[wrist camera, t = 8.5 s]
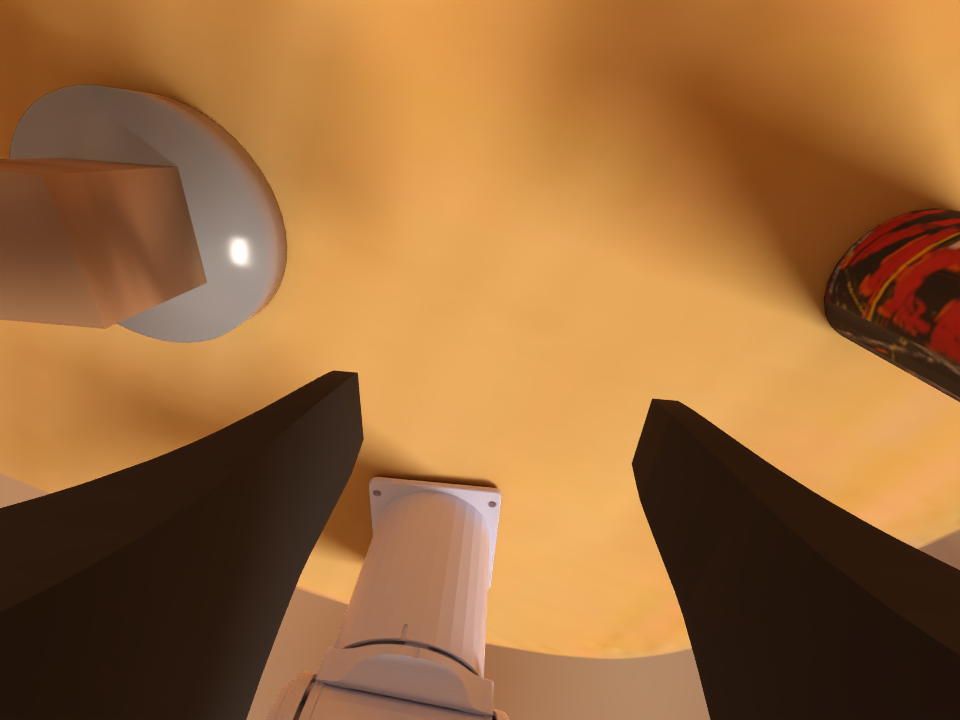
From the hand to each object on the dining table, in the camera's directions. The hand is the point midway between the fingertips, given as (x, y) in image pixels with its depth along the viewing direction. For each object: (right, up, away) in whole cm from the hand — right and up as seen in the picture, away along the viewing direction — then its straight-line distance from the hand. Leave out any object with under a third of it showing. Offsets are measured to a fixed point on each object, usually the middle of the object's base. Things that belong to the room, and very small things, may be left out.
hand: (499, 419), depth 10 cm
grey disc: (-14, +8, +8) cm, 18 cm away
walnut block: (-14, +7, +6) cm, 17 cm away
